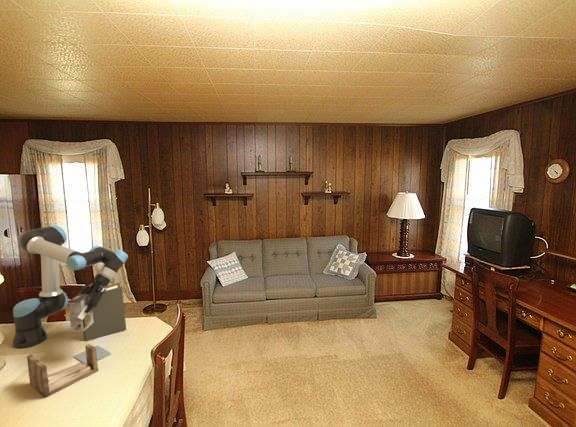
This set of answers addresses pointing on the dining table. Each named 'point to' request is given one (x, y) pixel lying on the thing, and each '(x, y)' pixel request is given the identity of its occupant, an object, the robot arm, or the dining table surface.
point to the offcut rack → (60, 373)
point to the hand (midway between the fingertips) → (74, 315)
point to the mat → (100, 354)
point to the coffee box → (76, 308)
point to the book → (107, 314)
